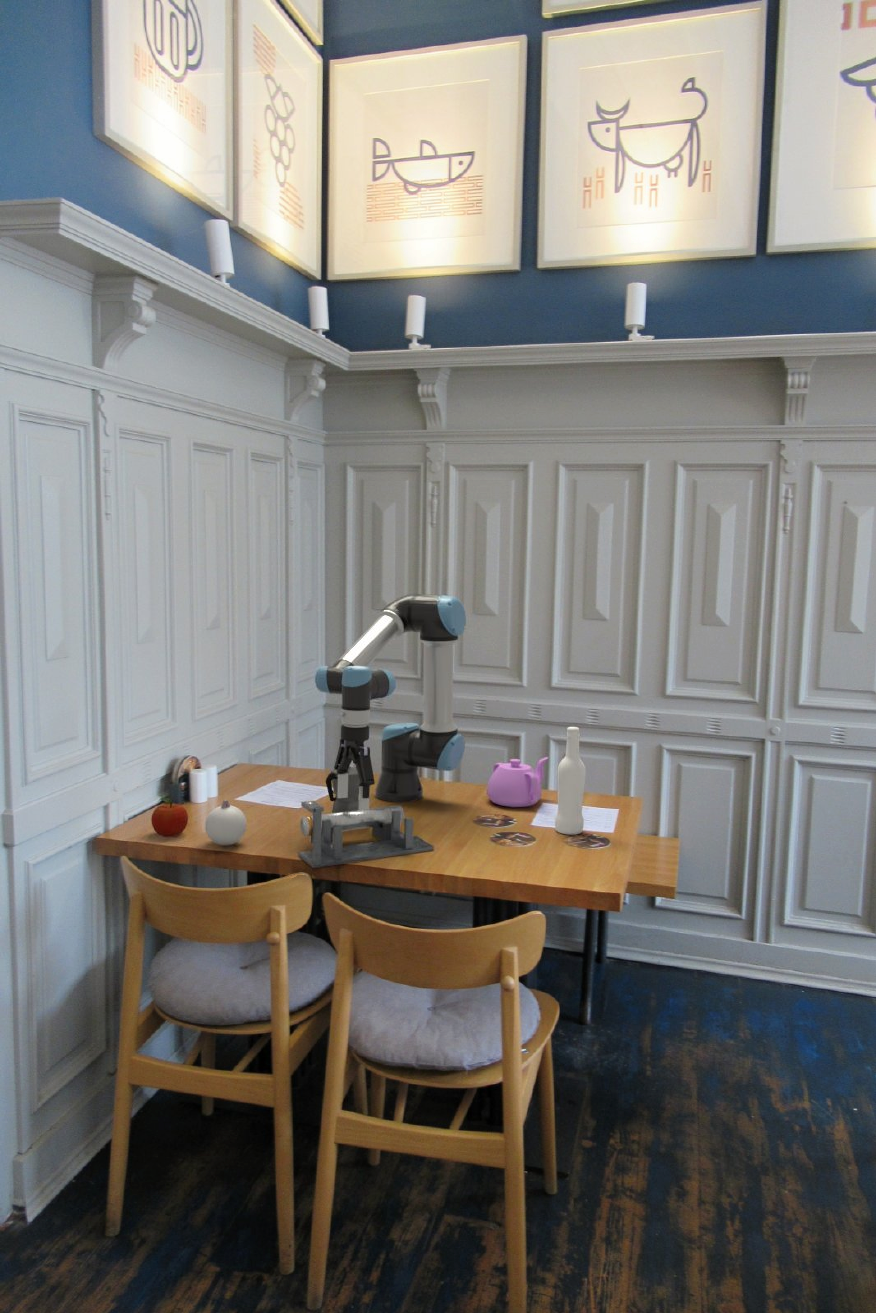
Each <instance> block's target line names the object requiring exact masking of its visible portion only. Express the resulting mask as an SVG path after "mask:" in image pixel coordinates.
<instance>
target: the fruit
mask: <svg viewBox="0 0 876 1313" xmlns="http://www.w3.org/2000/svg"><path fill="white" fill-rule="evenodd" d="M159 801H163V802H165V804H162V805H159V806H157V807H156V808H155V809H154V810H153V811H152V812H153V813H152V814H151V819H150V820H151V825H152V828H153V830H154V832H155V833H156V834H157V835H159V836H161V837H166V838H167V837H169V838H170V837H177V836H178V835H180V834H181V833H183V832H184V830H185V829H186V827H187V825H188V822H189V814H188V812H187V809H186V808H185V807H184V806H183V805H182V804H178V803H173V801H172V799H170V798H169V797H162V798H160V799H159Z"/></svg>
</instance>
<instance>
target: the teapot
mask: <svg viewBox="0 0 876 1313" xmlns="http://www.w3.org/2000/svg"><path fill="white" fill-rule="evenodd" d="M548 759H549V756H545V757H542V758H541V759H539V761H538V762H537V765H536V768H535V771H534V769H533V768H532V766H530V765H528V764H526V763H525V764H524V763H521V762H522V761H521V759H518V758H511V759H509V762H506V763H503V762H497V763H495V764H494V765H493V767H492V768H493V769H492V770H493V771H492V772H493V773H492V775H491V776H490V778H489V780H488V784H487V787H486V794H487V796H488V798H489V799H490V800H491V802H492V803H494V804H497V805H499V806H504V807H508V808H511V809H513V808H523V807H524V808H527V807H531V806H534V805H536V803H537V802H538V801H539V800H540V799H541V797H542V788H541V787H542V786H541V785H543V782H544V766H545V765H544V764H545V763H546V761H547V760H548Z"/></svg>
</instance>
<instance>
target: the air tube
mask: <svg viewBox="0 0 876 1313" xmlns="http://www.w3.org/2000/svg"><path fill="white" fill-rule="evenodd" d="M397 810H399V811H401V815H400V824H403V823H404V818H405V812H404V809H403V806H402V805H401V804H400V805H399V804H396V805H389V806H381V807H373V808H369V810H361V811H359V810H354V811H346V812H338V813H332V812H330V813H322V820H325V819H330V820H331V830H332V831H333V827H340V826H341V827H342V828H343V831H342V832H346V831H352V830H354V831H355V830H361V829H368V828H372V827H378V826H383V823H389V822H392V811H397ZM322 820H321V831H322ZM300 831H301V834H302V835H303V836H304V837H311V835H313V815H304V816H302V817H301V819H300Z"/></svg>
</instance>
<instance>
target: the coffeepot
mask: <svg viewBox="0 0 876 1313" xmlns="http://www.w3.org/2000/svg"><path fill="white" fill-rule="evenodd" d="M348 771H349V773H345V774H348V797H347V798H337V793H338V773H337V770H335V769H334V768H333V769H332V770H331V771H330V773H329V774H328V775H327V777H326V779H325V784H326V789H327V793H328V798H329V801H330V802H333V804H332V810H331V813H338V812H346V811H354V810H359V784H360V783H361V782H360V779H359V775H358V772H357V768H356V766H355V767H354V766H351V765H350V766H349V768H348Z"/></svg>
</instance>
